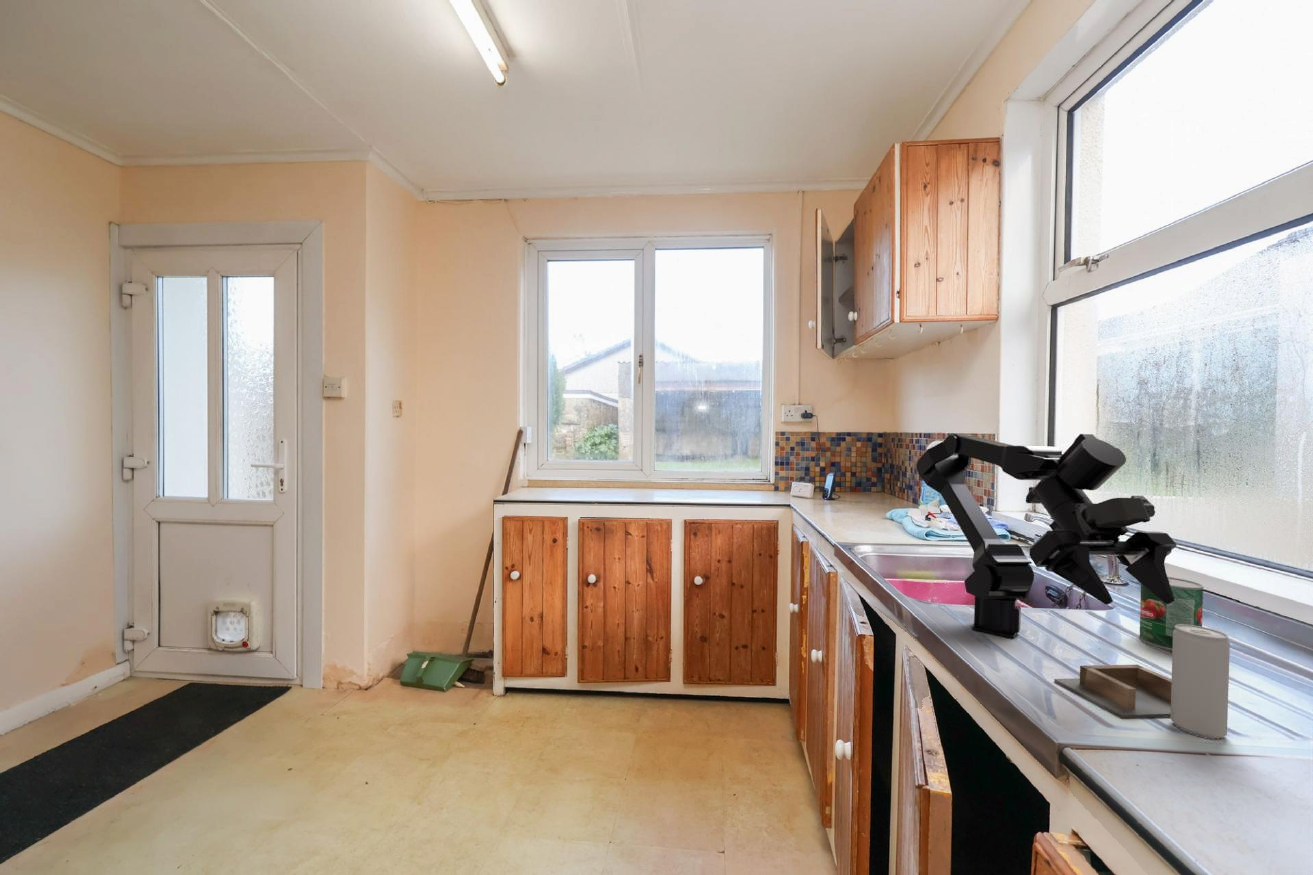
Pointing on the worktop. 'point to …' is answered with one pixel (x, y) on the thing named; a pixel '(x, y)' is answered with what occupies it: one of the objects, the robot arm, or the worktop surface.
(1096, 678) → the keeper
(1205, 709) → the beverage can
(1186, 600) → the canned tomato
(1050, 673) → the worktop surface
